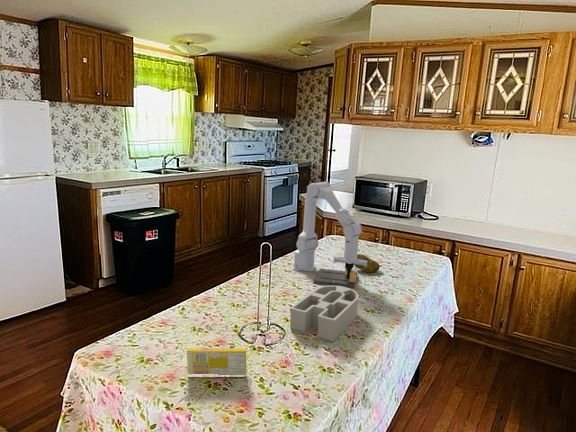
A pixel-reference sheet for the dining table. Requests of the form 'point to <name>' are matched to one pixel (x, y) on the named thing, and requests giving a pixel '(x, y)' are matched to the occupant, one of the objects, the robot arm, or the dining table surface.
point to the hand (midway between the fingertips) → (348, 279)
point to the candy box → (217, 361)
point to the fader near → (353, 276)
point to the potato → (371, 264)
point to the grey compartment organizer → (325, 312)
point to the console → (333, 278)
